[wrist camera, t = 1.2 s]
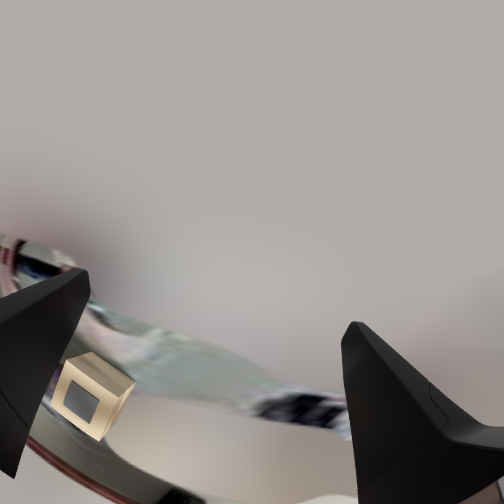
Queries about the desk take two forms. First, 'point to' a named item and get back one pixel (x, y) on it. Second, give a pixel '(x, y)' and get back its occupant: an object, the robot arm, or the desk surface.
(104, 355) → the desk surface
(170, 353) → the desk surface
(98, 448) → the desk surface
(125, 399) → the beech block
